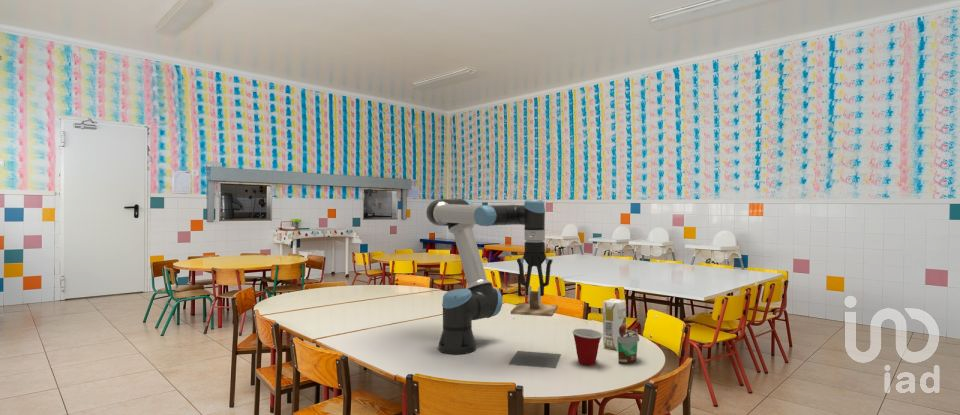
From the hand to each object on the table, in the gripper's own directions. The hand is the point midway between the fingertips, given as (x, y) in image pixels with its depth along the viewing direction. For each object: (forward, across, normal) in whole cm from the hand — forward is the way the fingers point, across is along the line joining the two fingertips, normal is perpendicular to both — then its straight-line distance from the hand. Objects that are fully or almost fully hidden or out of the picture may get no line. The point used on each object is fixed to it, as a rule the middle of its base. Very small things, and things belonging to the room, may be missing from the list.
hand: (534, 304), depth 188 cm
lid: (+2, 0, 0) cm, 2 cm away
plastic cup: (+21, +19, 0) cm, 29 cm away
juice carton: (+21, +28, +25) cm, 43 cm away
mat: (+21, 0, 0) cm, 21 cm away
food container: (+21, +34, +8) cm, 41 cm away
